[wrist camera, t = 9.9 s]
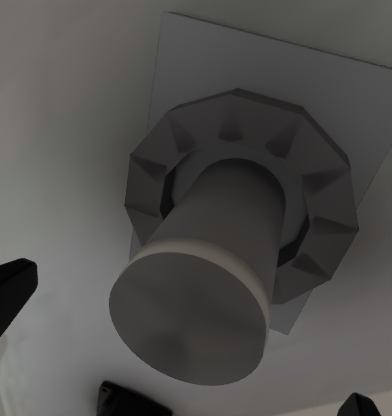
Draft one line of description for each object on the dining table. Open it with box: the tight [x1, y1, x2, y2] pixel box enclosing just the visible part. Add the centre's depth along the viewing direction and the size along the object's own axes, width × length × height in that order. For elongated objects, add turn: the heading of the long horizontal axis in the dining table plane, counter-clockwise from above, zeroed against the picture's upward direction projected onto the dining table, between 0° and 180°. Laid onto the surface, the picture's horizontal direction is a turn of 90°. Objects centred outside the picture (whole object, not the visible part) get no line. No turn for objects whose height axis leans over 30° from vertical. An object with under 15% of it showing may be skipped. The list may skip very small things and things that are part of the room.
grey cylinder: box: [109, 158, 286, 386], centre depth 13 cm, size 5×5×8 cm
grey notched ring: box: [124, 11, 392, 335], centre depth 16 cm, size 14×10×2 cm
